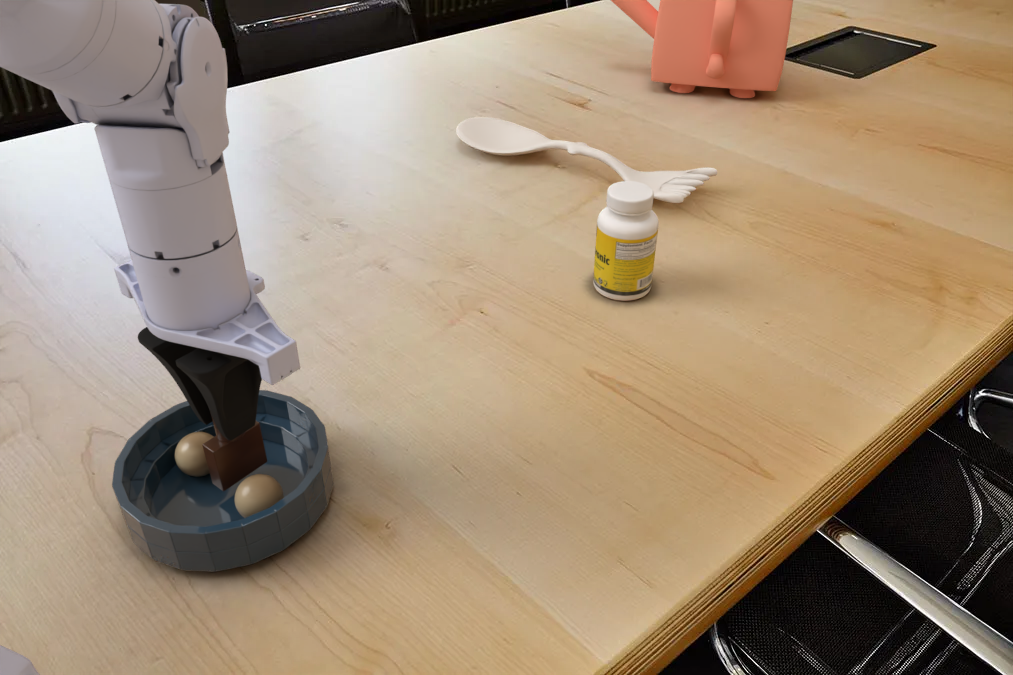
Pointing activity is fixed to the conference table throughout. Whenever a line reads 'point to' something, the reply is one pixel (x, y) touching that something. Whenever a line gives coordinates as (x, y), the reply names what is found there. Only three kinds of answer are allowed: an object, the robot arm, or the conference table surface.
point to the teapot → (715, 42)
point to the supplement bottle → (626, 242)
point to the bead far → (192, 454)
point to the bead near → (257, 494)
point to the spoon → (522, 140)
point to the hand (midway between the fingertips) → (228, 422)
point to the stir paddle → (234, 456)
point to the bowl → (207, 509)
